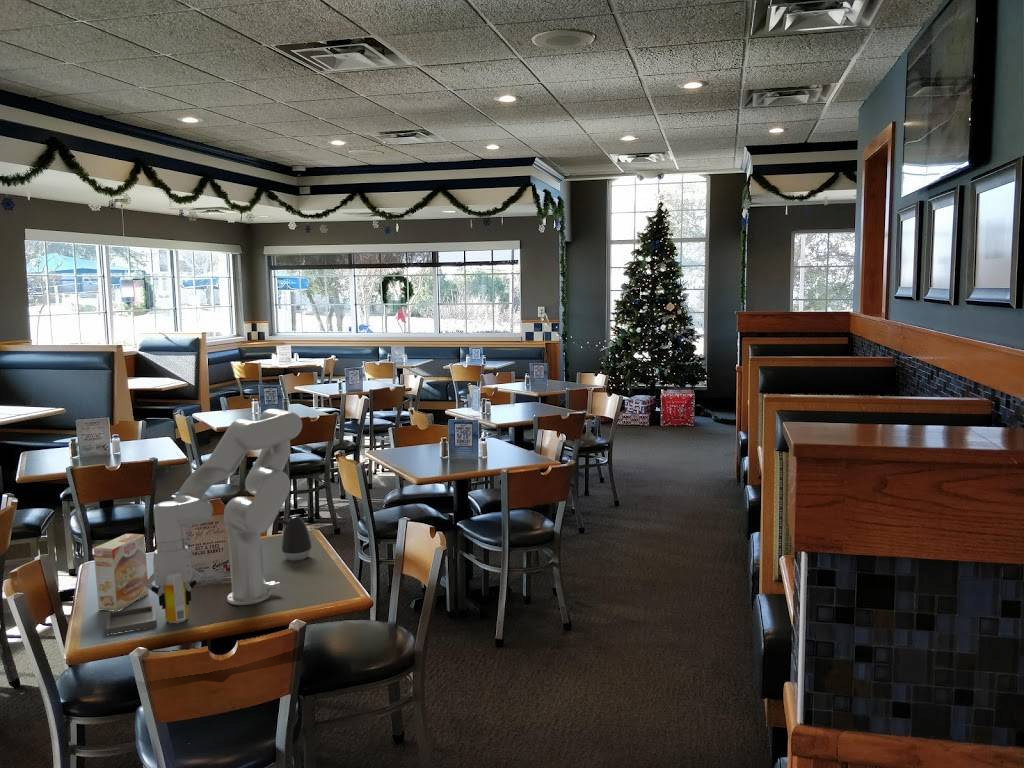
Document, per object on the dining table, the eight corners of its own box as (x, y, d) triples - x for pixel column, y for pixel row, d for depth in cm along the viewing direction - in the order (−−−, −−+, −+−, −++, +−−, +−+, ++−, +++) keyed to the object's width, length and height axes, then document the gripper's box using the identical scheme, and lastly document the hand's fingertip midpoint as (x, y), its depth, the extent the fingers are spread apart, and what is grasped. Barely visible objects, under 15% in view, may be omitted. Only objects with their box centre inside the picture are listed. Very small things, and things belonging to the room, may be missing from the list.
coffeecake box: (118, 612, 253) (112, 549, 251) (97, 610, 255) (91, 547, 253) (150, 593, 268) (145, 533, 265) (130, 592, 270) (125, 532, 267)
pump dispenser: (282, 555, 302) (280, 513, 300) (312, 552, 304) (310, 511, 302) (280, 564, 292) (277, 521, 290) (311, 562, 294) (308, 519, 292)
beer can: (181, 614, 250) (177, 565, 249) (192, 619, 247) (188, 569, 245) (161, 621, 246) (157, 571, 244) (172, 626, 242) (168, 575, 240)
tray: (155, 611, 254) (155, 604, 253) (156, 626, 242) (156, 620, 241) (107, 619, 248) (106, 612, 248) (106, 635, 237) (105, 629, 236)
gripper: (201, 537, 250) (206, 596, 252) (137, 545, 243) (143, 606, 246) (203, 544, 243) (208, 604, 246) (138, 553, 236) (143, 615, 239)
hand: (175, 604), depth 246 cm, fingers closed on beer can, 5 cm apart
